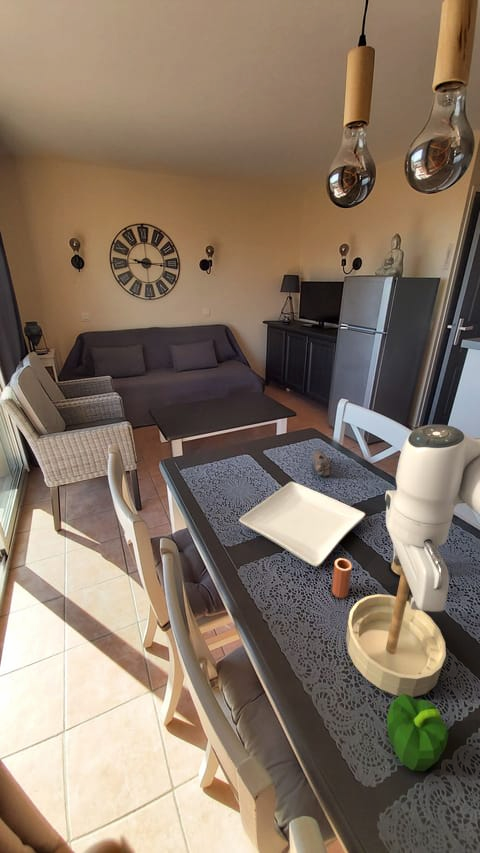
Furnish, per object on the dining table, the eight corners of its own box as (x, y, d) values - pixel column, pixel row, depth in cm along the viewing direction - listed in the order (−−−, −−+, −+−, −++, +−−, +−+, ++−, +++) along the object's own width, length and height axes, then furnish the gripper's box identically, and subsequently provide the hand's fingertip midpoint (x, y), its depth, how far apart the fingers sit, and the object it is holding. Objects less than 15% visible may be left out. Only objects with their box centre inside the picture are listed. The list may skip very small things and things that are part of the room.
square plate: (237, 529, 107) (237, 518, 105) (291, 489, 125) (291, 479, 123) (316, 576, 90) (317, 565, 88) (365, 522, 108) (367, 511, 106)
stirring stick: (394, 645, 72) (410, 570, 64) (396, 654, 71) (413, 578, 62) (384, 644, 72) (399, 570, 64) (387, 653, 71) (402, 578, 63)
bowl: (421, 617, 79) (426, 597, 76) (454, 704, 63) (462, 683, 61) (340, 611, 81) (342, 591, 78) (353, 694, 65) (357, 672, 63)
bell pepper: (382, 768, 55) (391, 731, 51) (383, 711, 62) (391, 675, 58) (443, 793, 53) (458, 756, 48) (437, 731, 60) (449, 694, 55)
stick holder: (347, 585, 87) (350, 558, 84) (349, 598, 84) (353, 571, 80) (330, 584, 87) (333, 557, 84) (332, 597, 84) (335, 570, 81)
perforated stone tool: (309, 460, 143) (310, 444, 140) (322, 459, 143) (323, 444, 140) (317, 480, 129) (318, 463, 127) (331, 480, 129) (333, 463, 127)
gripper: (468, 571, 49) (448, 639, 54) (418, 487, 67) (407, 544, 73) (419, 568, 50) (405, 636, 55) (383, 485, 68) (375, 542, 74)
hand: (406, 583), depth 64 cm, fingers open, 8 cm apart
